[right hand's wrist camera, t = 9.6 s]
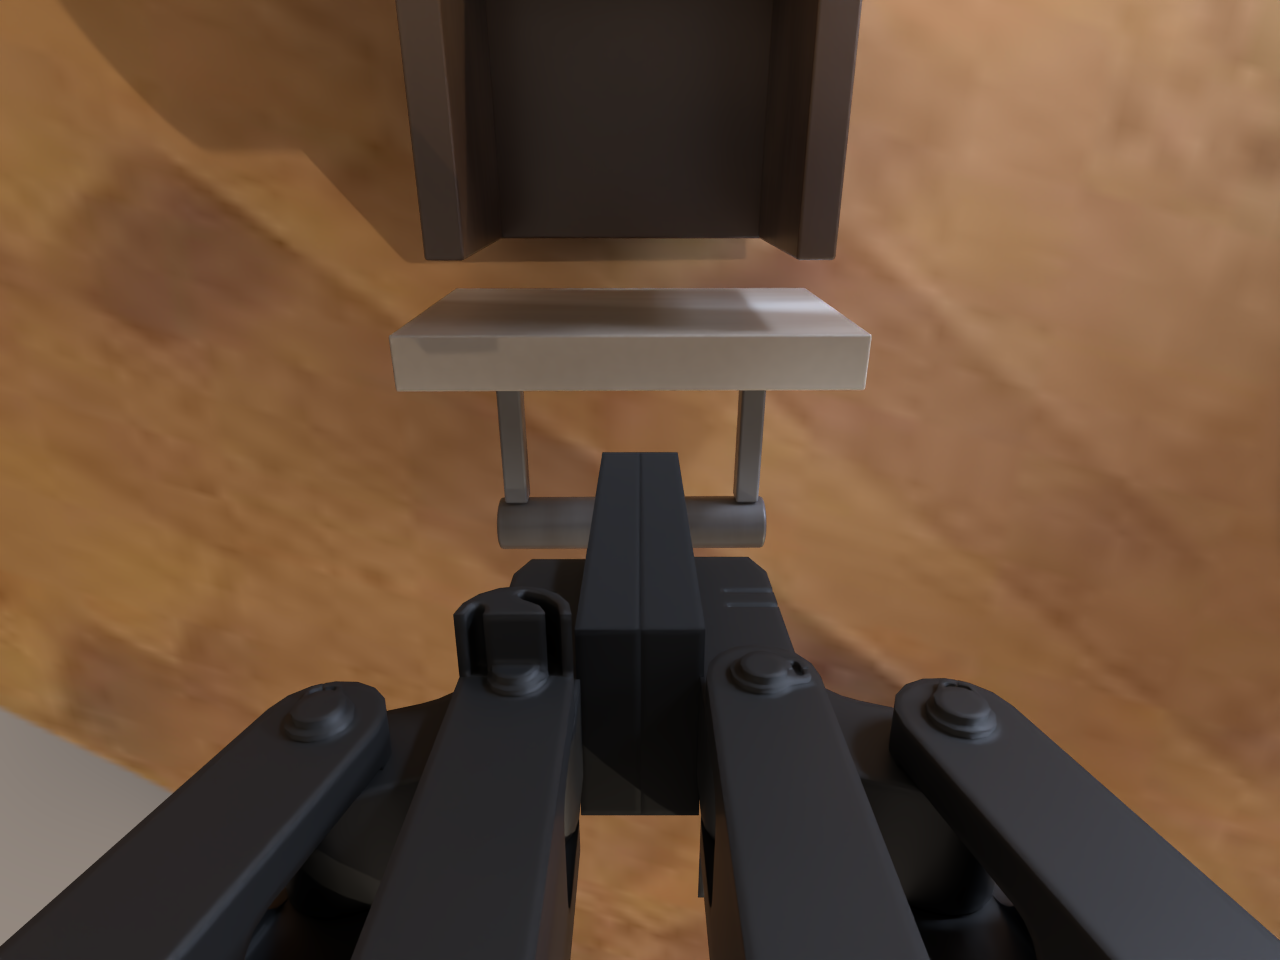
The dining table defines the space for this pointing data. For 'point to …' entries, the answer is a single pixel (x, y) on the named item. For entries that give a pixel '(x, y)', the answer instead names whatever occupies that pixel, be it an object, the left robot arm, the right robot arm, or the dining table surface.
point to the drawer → (629, 212)
